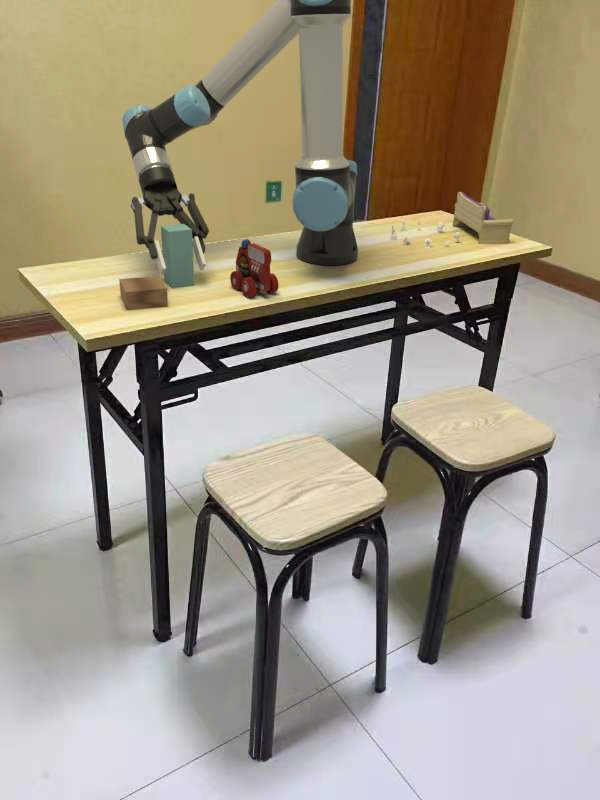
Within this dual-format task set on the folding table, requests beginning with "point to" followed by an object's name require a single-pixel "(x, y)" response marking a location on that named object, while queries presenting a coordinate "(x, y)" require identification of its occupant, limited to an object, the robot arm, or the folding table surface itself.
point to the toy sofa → (481, 221)
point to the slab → (143, 293)
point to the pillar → (177, 255)
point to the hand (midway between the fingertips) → (183, 269)
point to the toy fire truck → (253, 270)
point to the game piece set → (428, 240)
